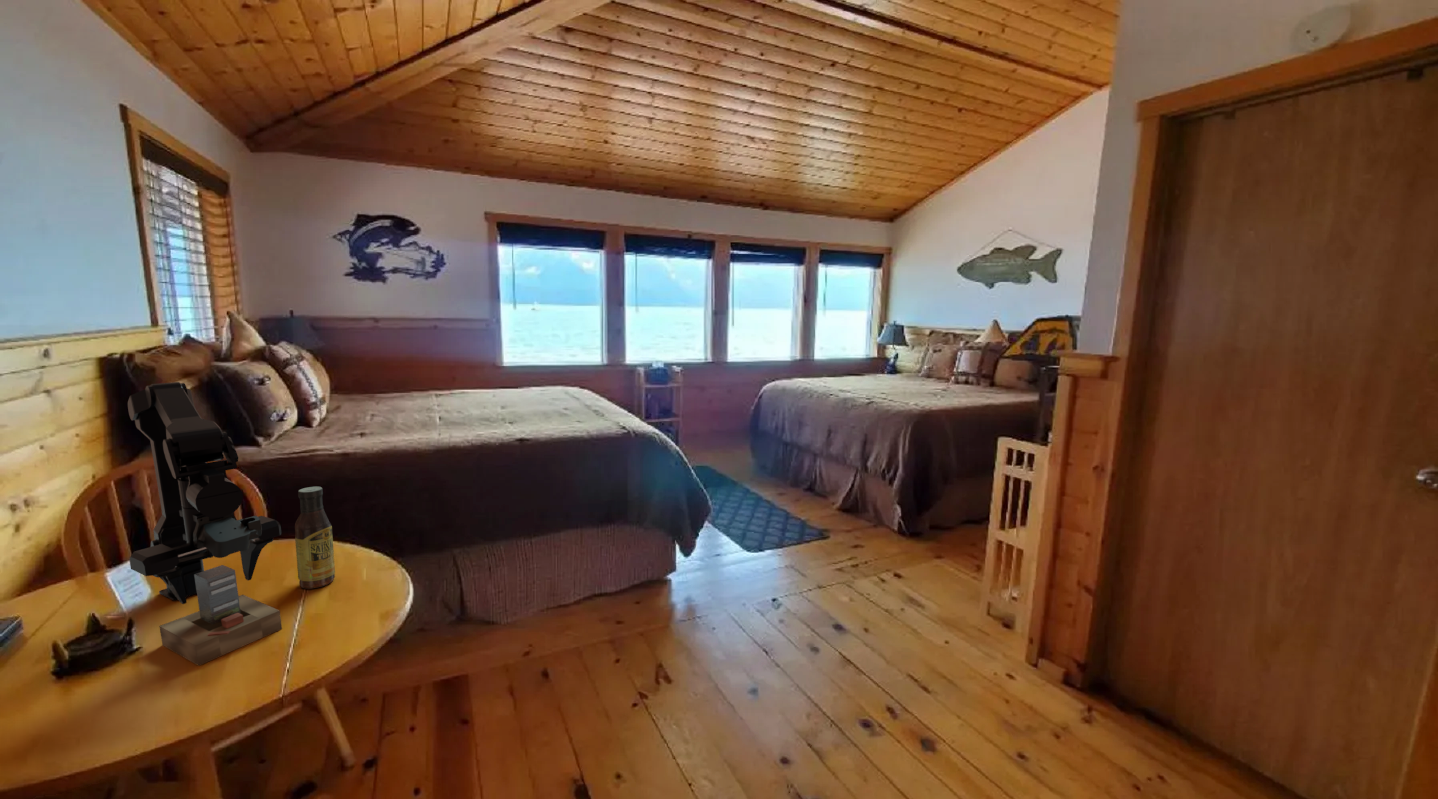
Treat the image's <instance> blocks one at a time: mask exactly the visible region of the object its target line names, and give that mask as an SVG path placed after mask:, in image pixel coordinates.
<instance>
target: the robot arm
mask: <svg viewBox="0 0 1438 799" xmlns="http://www.w3.org/2000/svg"><path fill="white" fill-rule="evenodd" d="M127 409H128V410H127V411H128V415H129V418H130V420H131V421H134V424H135V428H136V429H137V430H139V431H140V432H141V433H142V434H143V435H144V436H145V437H146V438H147V439H148V440H149V441H150V448H151V454H152V460H153V466H154V472H155V480H156V484H157V490H158V496H159V503H160V509H161V516H160V518H159V519H158V521H157V523H156V524H155V526H154V527H153V530H152V531H153V540H151V541H150V546H149V547H146V548H142V549H138V550H136V551H135V550H134V551H133V552H132V553H131V555H130V556H129V566H130V570H132V571H134V572H136V573H138V574H141V575H143V576H144V577H149V576H151V577H152V576H153V577H155V578H159V579H160V580H162V581H163V583H164V584H165V585H166V588H163V589H160V590H159V591H158V593H159V595H161V596H164V597H165V598H168V599H169V600H171V601H178V602H179V603H180V604H182V605H185V604H186V603H187V598H188V597H190V596H193V595H197V590H196V584H195V577H194V574H196V573H199V572H202V571H205V566H204V560H205V559H209V558H217V559H223V558H226V557H228V556H230V555H232V554H236V553H238V552H239V553H240V558H241V565H242V566H241V567H242V571H243V574H244V578H245V581H250V580H252V579H253V576H254V572H255V569H256V566H257V562H258V559H259V556H260V554H261V552H262V550H263V548H265V547H266V546H267V545H268V544H270V543H272V542H273V541H274V538H277V537H279V536H281V535H282V527H281V523H280V522H279V521H278V520H276V519H274V518H270V517H268V516H265V515H260V516H257V515H253V516H249V517H246V518H239V519H237V518H236V516H235V514H234V513H235V512H236V511H238V509H239V508H240V507H241V505H242V502H243V498H244V494H243V491H242V489H241V488H240V486H238V485H237V484H235V483H234V482H233V481H231V480H230V479H229V478H228V476H227V471H230V470H231V471H232V470H236V469H238V465H237V463H238V462H239V455H238V453H237V450H236V448H235V445H234V442H233V440H232V438H231V437H230V436H228V433H227V432H226V431H223V430H222V429H221V427H220V426H219V425H218V424H217V422H215V421H213V420H211V419H210V420H209V419H205V418H202V417H201V415H200V413H199V411H197V409H196V406H195V403H194V398H193V394H192V390H191V389H189V388H187V386H186V383H185V382H180V381H177V382H175V381H174V382H162V383H151V384H150V385H146V386H145V389H143V390H141V391H138V392H135V393H133V394H131V395H129V398H128V401H127Z"/></svg>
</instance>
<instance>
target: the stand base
mask: <svg viewBox="0 0 1438 799" xmlns="http://www.w3.org/2000/svg"><path fill="white" fill-rule="evenodd" d="M238 597H239V604H240V612H241V613H236V614H233V615H231V616H228V617H226V618H223V619H221V621H220V622H218V623H215V624H211V623H209V622H207V621H205V620H203V619H201V618H200V611H199V610H198V611H195V612H193V613H190V614H187V615H185V616H183V617H182V616H181V617H179V618H177V619H175V620H172V621H169V622H166V623H164V624H162V625H161V624H160V625H159V632H160V637H161V644H162V647H165V648H167V649H168V650H171V651H172V652H173V653H175V654H177V655H179V656H181V657H182V658H185V659H186V660H187V661H190V662H191V663H193V664H195V665H196V666H202V665H204V664H206V663H208V662H210V661H213V660H215V659H217V658H219V657H222V656H224V655H227V654H228V653H230V652H233V651H235V650H238V649H240V648H242V647H244V646H246V645H249V644H251V643H253V642H256V641H258V640H260V639H263V638H265V637H267V636H269V635H272V634H275V633H276V632H278V631H280V630H282V629H283V627H282V619H281V617H282V616H281V611H280V610H279V609H277V608H275V607H273V606H270V605H268V604H266V603H263V602H261V601H258V600H257V599H254V598H251V597H249V596H247V595H245V594H240V595H238Z"/></svg>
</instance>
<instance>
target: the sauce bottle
mask: <svg viewBox="0 0 1438 799" xmlns="http://www.w3.org/2000/svg"><path fill="white" fill-rule="evenodd" d="M323 490H324V489H323V487H321V486H309V487H304V488H301V489H298V492H297V496H298V498H299V503H300V504H299V505H300V508H299V510H300V514H299V516H298V517H297V518H296V521H295V524H294V530H295V531H294V532H295V536H294V540H295V553H296V554H295V555H296V567H297V569H296V570H297V578H298V580H299V587H300V588H302V589H307V590H308V589H309V590H312V589H318V588H321V587H325V586H327V585H330V583H332V582H333V581H334V580H335V578H336V576H335V573H336V565H335V551H334V538H333V526H332V523H331V522H330V521H329V520H330V519H329V518H328V516H327V513H326V512H325V509H324V505H323V495H324V492H323Z"/></svg>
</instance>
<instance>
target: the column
mask: <svg viewBox="0 0 1438 799" xmlns="http://www.w3.org/2000/svg"><path fill="white" fill-rule="evenodd" d="M194 577H195V584H196V590H197V593H196V596H197V597H196V598H197V603H198V611H200V618H201V619H203V620H205V621H207V622H209V623H211V624H215V623H218V622H220V621H221V619H223V618H226V617H228V616H231V615H233V614H236V613H241V612H240V604H239V597H238V596H239V590H238V582H237V575H236V570H235V569H233V568H232V567H230V566H229V567H228V566H226V565H225V564H221V565H218V566H216V567H215V566H214V567H212V568H209V569H206V570H204V571H202V572H199V573H196V574H194Z"/></svg>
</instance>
